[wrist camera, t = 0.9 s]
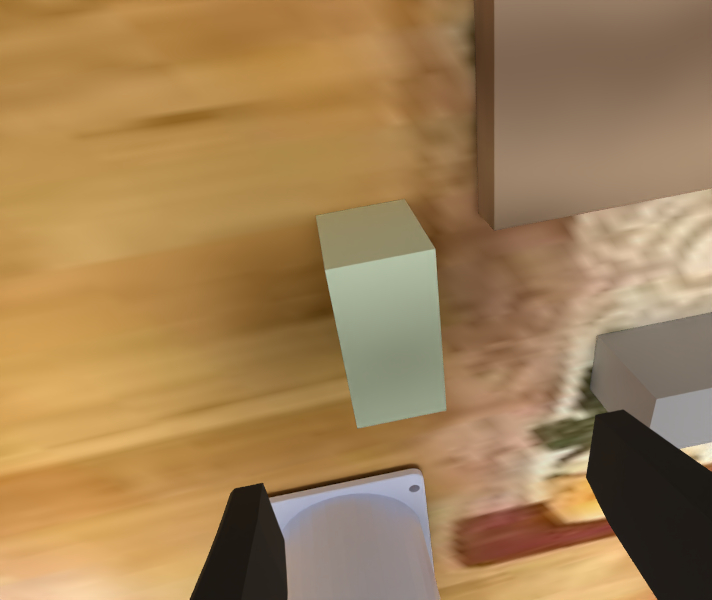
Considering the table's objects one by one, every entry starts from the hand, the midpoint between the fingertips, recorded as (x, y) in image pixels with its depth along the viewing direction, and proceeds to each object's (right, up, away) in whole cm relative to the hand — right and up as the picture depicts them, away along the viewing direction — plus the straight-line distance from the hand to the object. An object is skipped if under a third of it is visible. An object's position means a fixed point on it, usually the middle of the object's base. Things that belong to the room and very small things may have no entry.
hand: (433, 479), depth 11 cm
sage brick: (-1, +4, +7) cm, 9 cm away
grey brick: (+12, +2, +11) cm, 16 cm away
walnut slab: (+6, +11, +5) cm, 14 cm away
